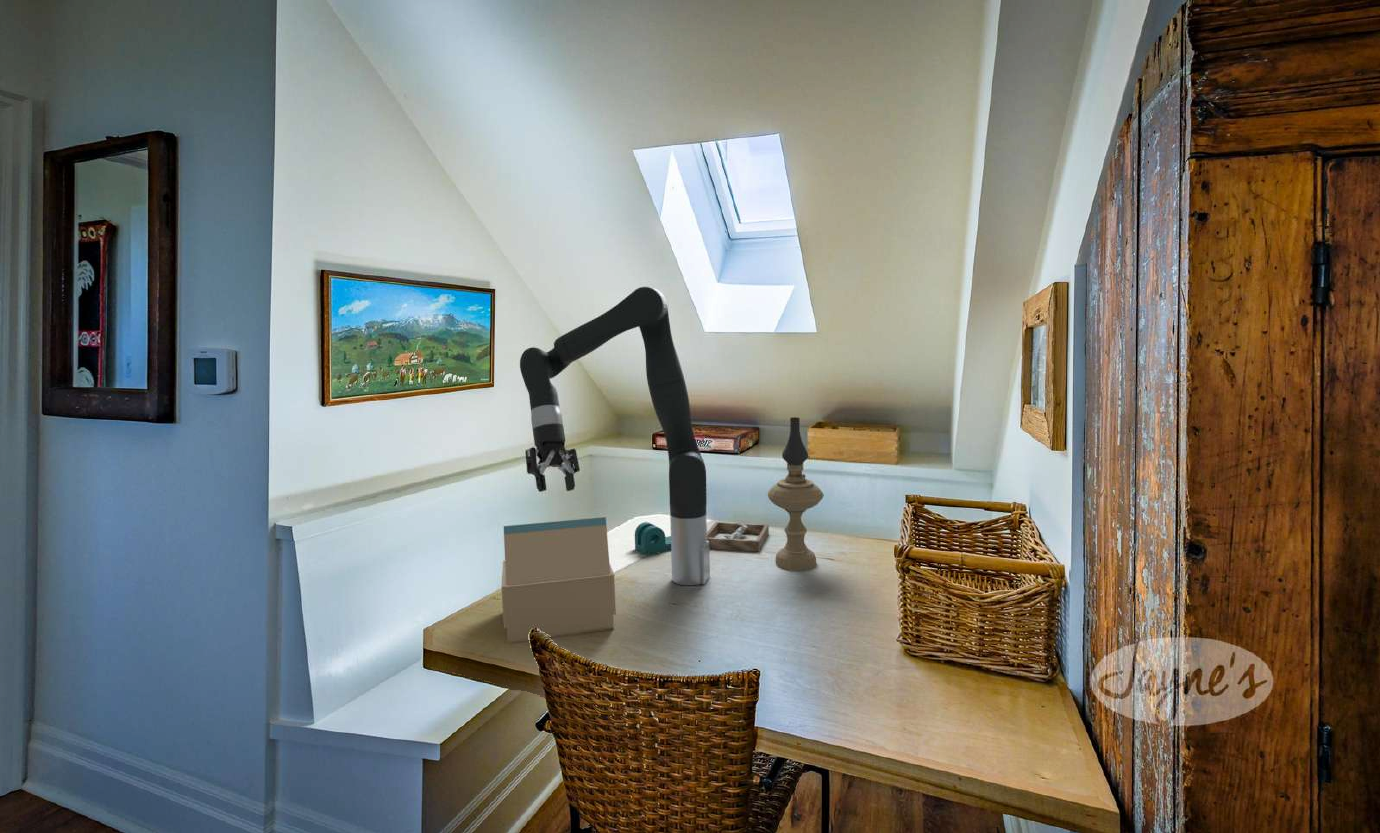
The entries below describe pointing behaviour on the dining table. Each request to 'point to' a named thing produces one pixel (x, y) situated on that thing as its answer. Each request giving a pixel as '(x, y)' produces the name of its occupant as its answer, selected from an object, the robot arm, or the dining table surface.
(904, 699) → the dining table surface
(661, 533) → the bracket
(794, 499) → the oil lamp
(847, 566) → the dining table surface
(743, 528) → the soldier figure
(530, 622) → the tan open box
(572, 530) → the wooden box lid
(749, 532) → the wooden tray
